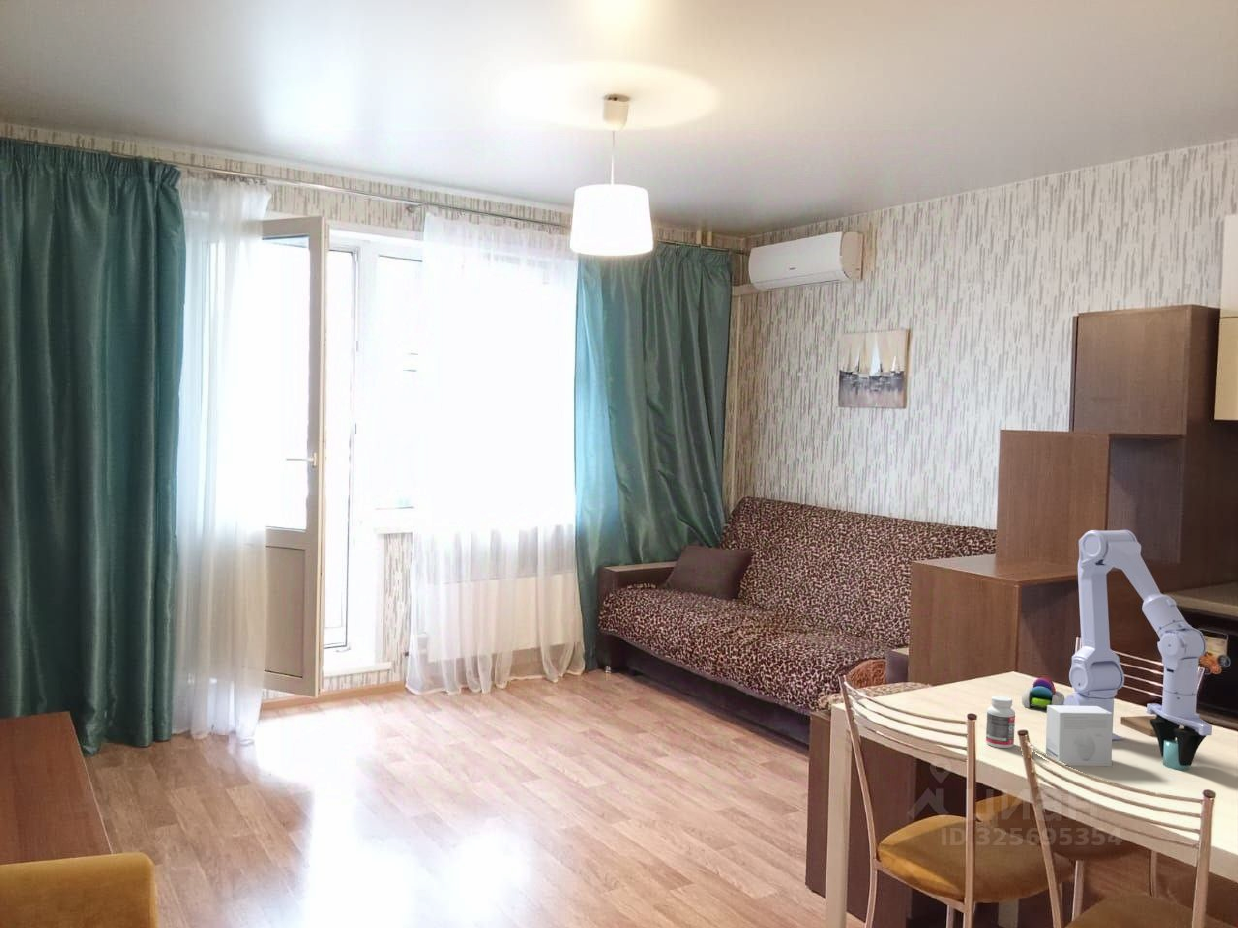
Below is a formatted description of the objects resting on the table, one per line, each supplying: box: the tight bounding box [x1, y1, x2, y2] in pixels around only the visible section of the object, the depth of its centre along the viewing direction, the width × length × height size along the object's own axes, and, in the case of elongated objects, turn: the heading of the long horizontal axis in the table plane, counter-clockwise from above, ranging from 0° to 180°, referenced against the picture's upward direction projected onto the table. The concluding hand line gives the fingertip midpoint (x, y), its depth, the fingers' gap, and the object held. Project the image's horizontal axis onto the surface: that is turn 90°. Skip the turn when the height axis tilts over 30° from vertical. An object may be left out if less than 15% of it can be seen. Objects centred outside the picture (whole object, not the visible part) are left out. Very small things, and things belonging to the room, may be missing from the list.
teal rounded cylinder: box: [1162, 739, 1190, 771], centre depth 191 cm, size 4×4×5 cm
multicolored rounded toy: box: [1021, 676, 1065, 709], centre depth 232 cm, size 8×10×7 cm
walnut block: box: [1119, 715, 1184, 737], centre depth 215 cm, size 9×9×2 cm
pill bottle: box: [985, 695, 1016, 749], centre depth 203 cm, size 5×5×10 cm
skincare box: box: [1045, 705, 1114, 767], centre depth 194 cm, size 10×6×10 cm, turn 91°
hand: (1176, 760), depth 191 cm, fingers closed on teal rounded cylinder, 4 cm apart
